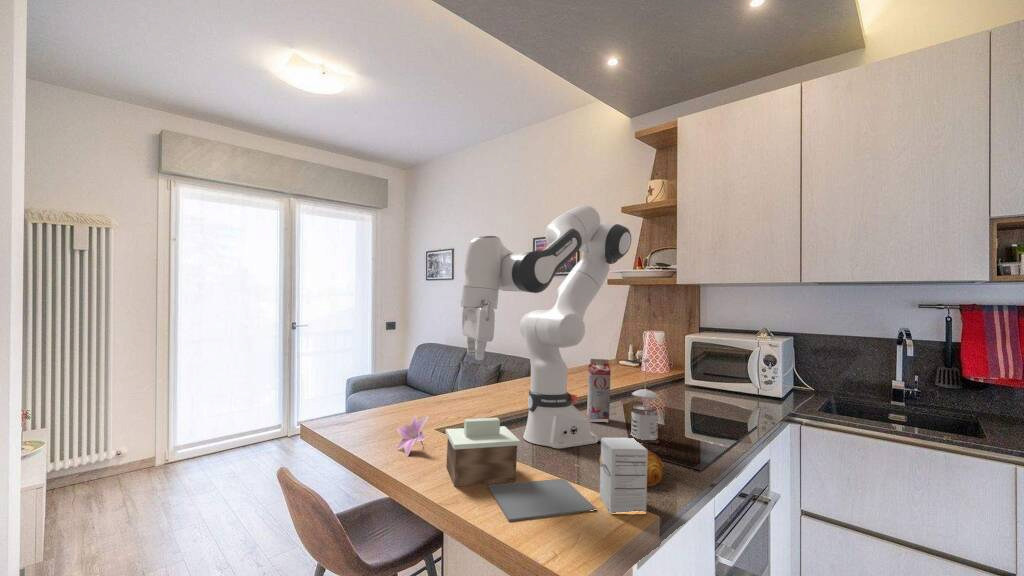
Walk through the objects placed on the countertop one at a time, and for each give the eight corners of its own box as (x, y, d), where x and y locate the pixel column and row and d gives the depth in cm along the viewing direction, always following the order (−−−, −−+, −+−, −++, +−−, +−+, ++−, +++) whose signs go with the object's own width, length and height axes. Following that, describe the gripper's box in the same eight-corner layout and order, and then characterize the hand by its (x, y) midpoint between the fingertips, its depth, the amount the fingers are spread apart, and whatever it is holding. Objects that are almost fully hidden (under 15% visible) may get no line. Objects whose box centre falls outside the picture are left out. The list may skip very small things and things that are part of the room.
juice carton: (609, 423, 147) (610, 360, 148) (590, 422, 147) (592, 359, 148) (605, 418, 154) (606, 358, 155) (587, 417, 154) (588, 357, 155)
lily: (397, 446, 117) (386, 421, 114) (434, 429, 120) (424, 405, 117) (403, 472, 108) (391, 446, 104) (442, 453, 111) (432, 427, 107)
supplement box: (598, 498, 87) (600, 436, 88) (633, 498, 87) (634, 437, 88) (609, 515, 80) (611, 448, 80) (647, 515, 80) (648, 448, 81)
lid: (504, 435, 105) (505, 412, 106) (519, 450, 94) (520, 425, 94) (445, 438, 101) (446, 414, 101) (453, 455, 90) (455, 428, 90)
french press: (626, 441, 127) (628, 358, 128) (630, 431, 138) (632, 355, 139) (660, 446, 123) (661, 361, 125) (661, 435, 134) (663, 357, 136)
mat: (564, 480, 95) (564, 478, 95) (596, 510, 81) (596, 508, 81) (488, 487, 90) (488, 485, 90) (508, 521, 76) (508, 519, 76)
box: (502, 463, 104) (503, 430, 105) (515, 480, 94) (517, 444, 94) (446, 467, 100) (447, 433, 101) (454, 486, 90) (455, 448, 90)
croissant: (632, 502, 91) (636, 467, 90) (587, 467, 104) (590, 436, 104) (678, 489, 98) (682, 456, 97) (630, 458, 111) (633, 429, 110)
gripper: (503, 301, 93) (498, 363, 92) (483, 302, 113) (478, 353, 112) (476, 298, 91) (470, 362, 90) (460, 300, 111) (455, 352, 110)
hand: (474, 357), depth 101 cm, fingers open, 8 cm apart
